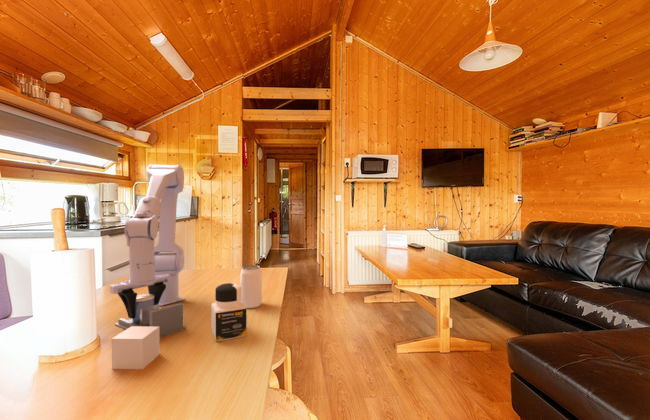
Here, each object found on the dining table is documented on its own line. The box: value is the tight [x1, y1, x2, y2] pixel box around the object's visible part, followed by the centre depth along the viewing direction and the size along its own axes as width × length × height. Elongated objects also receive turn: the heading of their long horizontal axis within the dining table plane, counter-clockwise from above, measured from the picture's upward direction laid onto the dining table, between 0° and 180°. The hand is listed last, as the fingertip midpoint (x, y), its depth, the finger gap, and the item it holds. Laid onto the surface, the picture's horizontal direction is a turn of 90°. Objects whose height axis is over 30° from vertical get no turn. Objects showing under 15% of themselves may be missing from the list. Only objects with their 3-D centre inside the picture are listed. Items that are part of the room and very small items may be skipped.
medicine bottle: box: [210, 282, 248, 343], centre depth 76 cm, size 7×7×12 cm
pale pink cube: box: [111, 326, 161, 370], centre depth 63 cm, size 6×6×6 cm
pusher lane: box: [114, 302, 187, 338], centre depth 81 cm, size 17×9×6 cm, turn 57°
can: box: [239, 264, 263, 310], centre depth 98 cm, size 6×6×12 cm
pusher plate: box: [140, 304, 160, 326], centre depth 81 cm, size 1×4×4 cm, turn 147°
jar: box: [132, 293, 154, 325], centre depth 83 cm, size 5×5×6 cm
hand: (142, 314), depth 83 cm, fingers closed on jar, 5 cm apart
